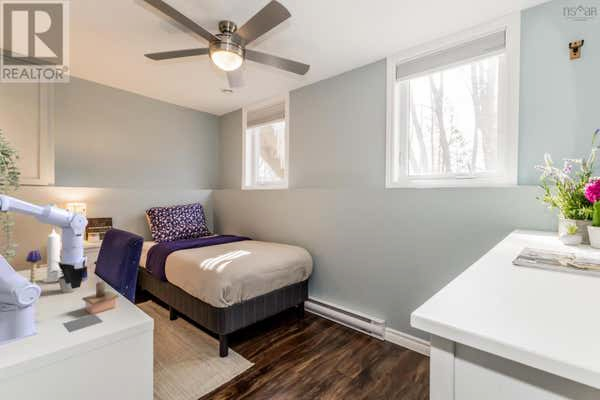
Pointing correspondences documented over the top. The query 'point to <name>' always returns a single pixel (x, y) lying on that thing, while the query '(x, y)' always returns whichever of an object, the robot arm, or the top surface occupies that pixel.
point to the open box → (100, 306)
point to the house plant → (64, 287)
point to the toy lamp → (33, 264)
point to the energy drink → (86, 270)
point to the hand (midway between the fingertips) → (72, 285)
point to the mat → (82, 323)
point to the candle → (53, 257)
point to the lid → (100, 295)
